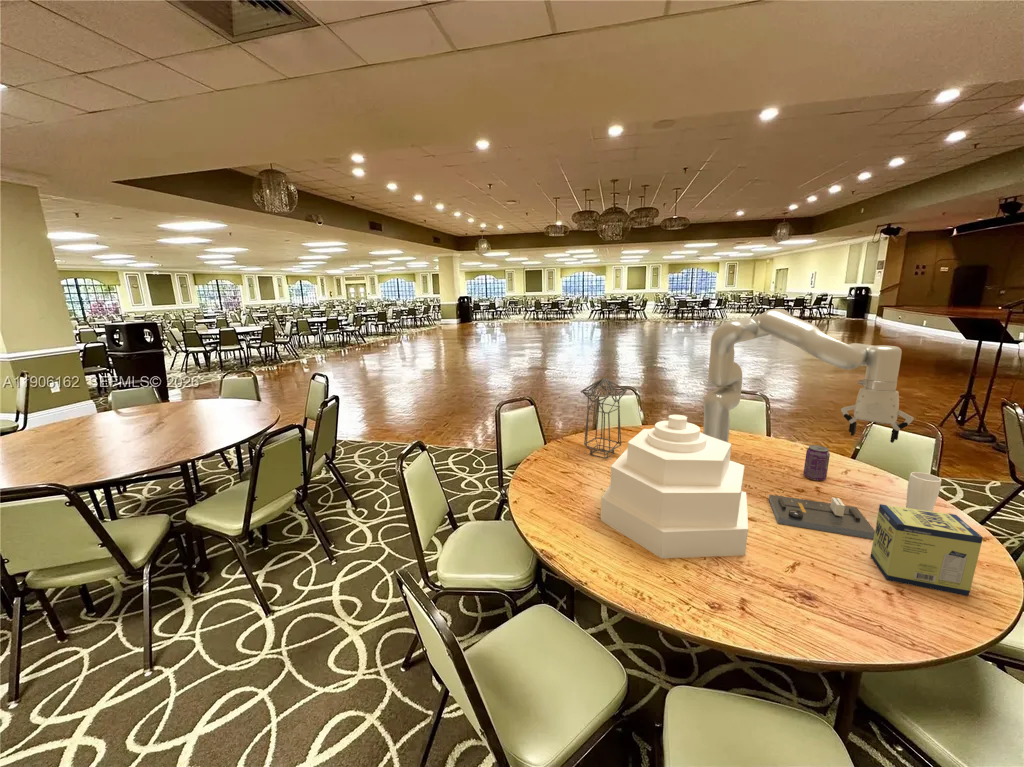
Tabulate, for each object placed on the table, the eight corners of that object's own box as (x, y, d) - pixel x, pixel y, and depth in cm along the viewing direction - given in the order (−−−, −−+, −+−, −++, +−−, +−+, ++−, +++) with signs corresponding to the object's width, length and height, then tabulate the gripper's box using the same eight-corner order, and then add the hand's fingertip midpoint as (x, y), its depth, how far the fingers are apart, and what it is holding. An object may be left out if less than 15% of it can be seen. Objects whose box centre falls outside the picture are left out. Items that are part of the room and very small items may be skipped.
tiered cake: (641, 475, 161) (646, 392, 154) (772, 517, 130) (785, 416, 123) (573, 518, 131) (575, 418, 124) (722, 586, 100) (735, 457, 93)
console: (777, 523, 126) (779, 513, 126) (768, 499, 141) (769, 491, 140) (876, 539, 117) (878, 529, 117) (855, 512, 132) (857, 503, 131)
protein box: (868, 556, 110) (878, 503, 107) (945, 569, 104) (958, 514, 101) (885, 580, 101) (896, 523, 98) (970, 597, 95) (985, 537, 92)
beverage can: (818, 473, 160) (822, 444, 158) (830, 482, 153) (835, 451, 151) (799, 473, 161) (803, 444, 158) (810, 481, 154) (814, 451, 151)
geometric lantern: (626, 453, 184) (629, 377, 176) (608, 465, 173) (610, 384, 165) (595, 444, 195) (597, 372, 186) (576, 455, 184) (578, 379, 175)
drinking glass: (923, 518, 128) (933, 473, 125) (937, 529, 122) (947, 482, 119) (896, 514, 130) (905, 470, 127) (908, 525, 124) (918, 479, 121)
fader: (835, 515, 126) (836, 504, 125) (830, 507, 131) (831, 497, 130) (843, 516, 125) (845, 505, 125) (837, 508, 130) (839, 498, 129)
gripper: (842, 383, 131) (835, 434, 135) (917, 391, 119) (908, 447, 122) (847, 380, 136) (840, 429, 140) (919, 387, 124) (910, 441, 127)
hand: (872, 438), depth 131 cm, fingers open, 9 cm apart
